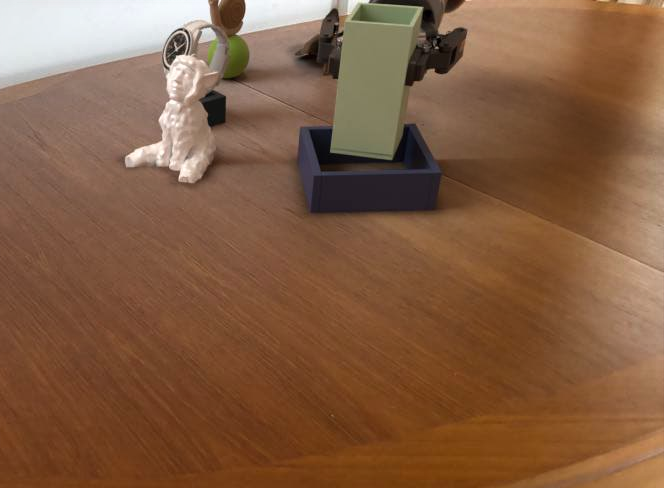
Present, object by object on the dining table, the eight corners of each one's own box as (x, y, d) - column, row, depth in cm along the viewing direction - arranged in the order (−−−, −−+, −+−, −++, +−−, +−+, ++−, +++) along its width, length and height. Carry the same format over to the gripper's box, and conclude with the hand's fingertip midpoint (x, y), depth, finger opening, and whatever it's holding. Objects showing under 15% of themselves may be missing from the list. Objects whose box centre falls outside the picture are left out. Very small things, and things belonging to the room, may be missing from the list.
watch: (155, 120, 106) (153, 24, 99) (210, 105, 109) (212, 11, 102) (181, 135, 103) (181, 36, 96) (238, 118, 106) (241, 22, 99)
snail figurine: (193, 79, 117) (193, -19, 109) (227, 67, 120) (229, -29, 112) (223, 89, 113) (226, -11, 106) (257, 76, 116) (262, -22, 109)
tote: (407, 169, 93) (415, 123, 90) (432, 222, 84) (442, 172, 81) (296, 172, 94) (299, 126, 90) (309, 224, 85) (313, 175, 81)
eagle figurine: (368, 63, 115) (349, 29, 121) (346, 20, 110) (328, -13, 116) (315, 96, 118) (299, 62, 124) (292, 56, 113) (276, 22, 119)
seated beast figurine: (121, 172, 95) (115, 59, 88) (172, 146, 100) (171, 36, 93) (189, 196, 90) (190, 78, 83) (240, 167, 95) (244, 53, 87)
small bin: (342, 129, 88) (358, 2, 81) (402, 136, 87) (423, 6, 79) (330, 152, 84) (344, 21, 77) (392, 160, 82) (413, 26, 75)
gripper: (469, 59, 91) (448, 121, 79) (329, 47, 95) (290, 104, 83) (485, -20, 86) (465, 34, 74) (337, -28, 90) (296, 21, 79)
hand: (372, 71), depth 79 cm, fingers closed on small bin, 5 cm apart
